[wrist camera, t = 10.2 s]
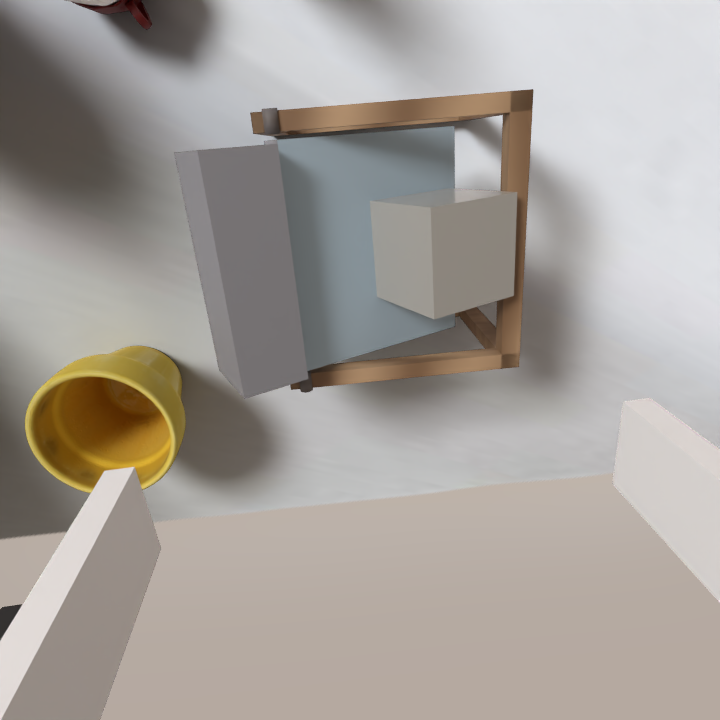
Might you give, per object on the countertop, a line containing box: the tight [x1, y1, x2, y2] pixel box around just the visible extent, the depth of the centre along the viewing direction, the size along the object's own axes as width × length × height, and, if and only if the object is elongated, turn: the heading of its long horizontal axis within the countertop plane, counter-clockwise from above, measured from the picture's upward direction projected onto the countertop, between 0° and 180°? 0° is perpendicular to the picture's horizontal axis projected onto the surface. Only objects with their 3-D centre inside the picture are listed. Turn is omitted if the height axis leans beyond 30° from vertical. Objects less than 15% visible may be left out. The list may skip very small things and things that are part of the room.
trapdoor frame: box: [250, 89, 533, 392], centre depth 35 cm, size 15×16×12 cm
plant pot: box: [25, 346, 186, 493], centre depth 40 cm, size 10×10×10 cm
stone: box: [370, 188, 517, 319], centre depth 31 cm, size 6×6×6 cm
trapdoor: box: [174, 126, 455, 399], centre depth 32 cm, size 17×13×5 cm
